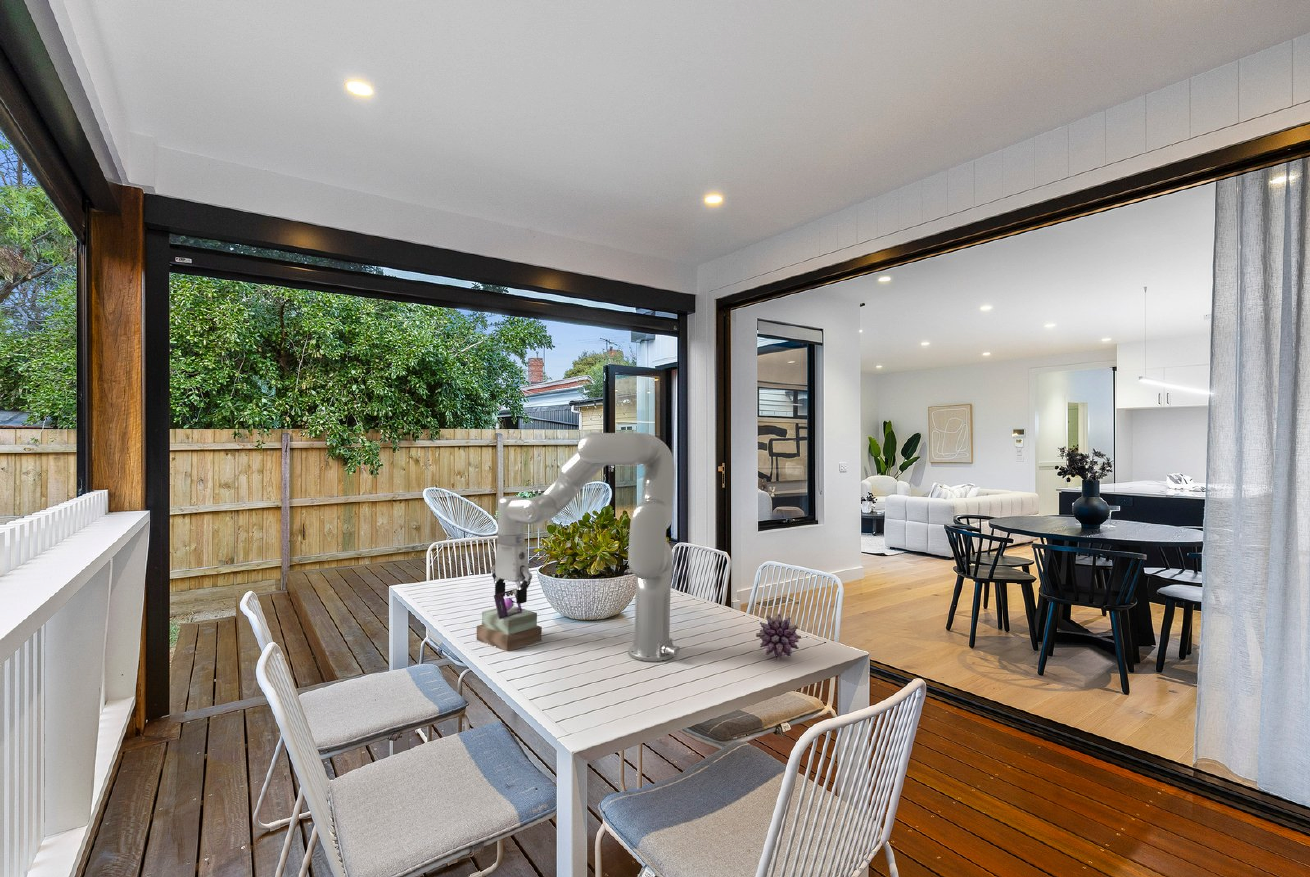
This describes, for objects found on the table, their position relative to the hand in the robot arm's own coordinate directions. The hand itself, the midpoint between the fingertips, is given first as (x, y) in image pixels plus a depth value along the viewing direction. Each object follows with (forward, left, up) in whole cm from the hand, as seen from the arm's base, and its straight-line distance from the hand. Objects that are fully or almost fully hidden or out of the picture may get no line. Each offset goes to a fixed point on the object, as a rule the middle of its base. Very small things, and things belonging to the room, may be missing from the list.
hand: (510, 600), depth 180 cm
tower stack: (0, 0, -12) cm, 12 cm away
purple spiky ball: (-64, -40, -12) cm, 76 cm away
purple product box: (-1, +2, -4) cm, 4 cm away
